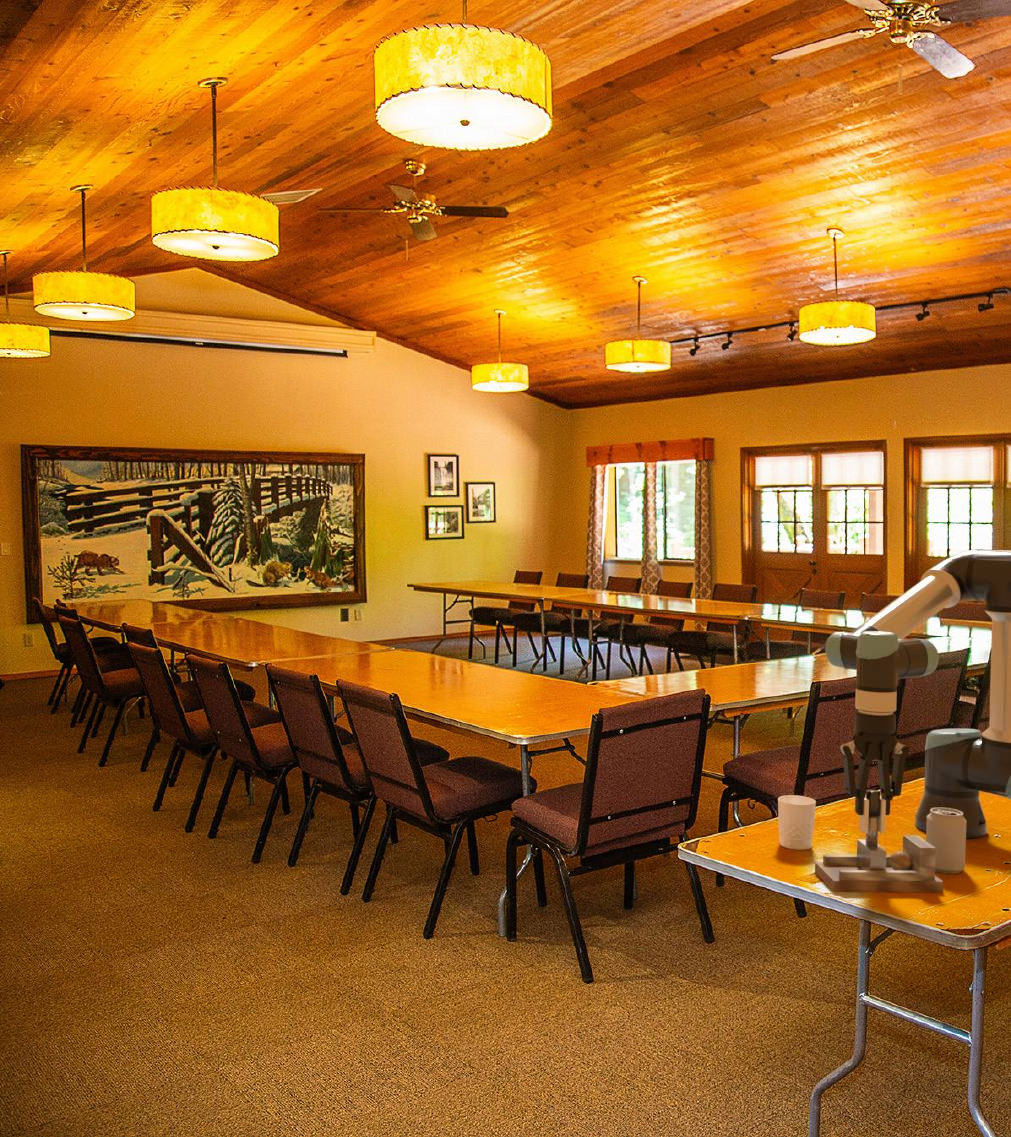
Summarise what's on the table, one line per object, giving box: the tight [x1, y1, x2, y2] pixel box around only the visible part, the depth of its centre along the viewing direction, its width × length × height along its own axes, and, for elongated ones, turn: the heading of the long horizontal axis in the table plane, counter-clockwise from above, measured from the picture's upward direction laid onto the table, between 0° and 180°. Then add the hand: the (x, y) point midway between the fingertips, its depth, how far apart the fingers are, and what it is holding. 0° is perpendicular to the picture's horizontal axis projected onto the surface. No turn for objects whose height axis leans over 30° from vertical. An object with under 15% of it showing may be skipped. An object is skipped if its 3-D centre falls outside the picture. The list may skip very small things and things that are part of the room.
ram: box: [856, 789, 887, 870], centre depth 202 cm, size 3×7×16 cm, turn 2°
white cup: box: [777, 794, 817, 851], centre depth 225 cm, size 8×8×10 cm
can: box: [925, 807, 967, 875], centre depth 210 cm, size 8×8×12 cm
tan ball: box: [889, 850, 911, 871], centre depth 202 cm, size 4×4×4 cm
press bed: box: [814, 834, 944, 893], centre depth 202 cm, size 21×11×8 cm, turn 91°
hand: (871, 831), depth 202 cm, fingers closed on ram, 3 cm apart
